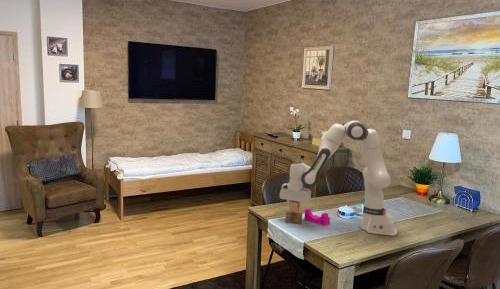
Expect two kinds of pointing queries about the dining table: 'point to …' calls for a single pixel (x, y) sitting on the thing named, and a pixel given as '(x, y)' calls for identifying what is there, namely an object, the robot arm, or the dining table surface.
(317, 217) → the toy block
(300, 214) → the walnut base block
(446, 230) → the dining table surface
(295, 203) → the terracotta block
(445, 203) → the dining table surface
